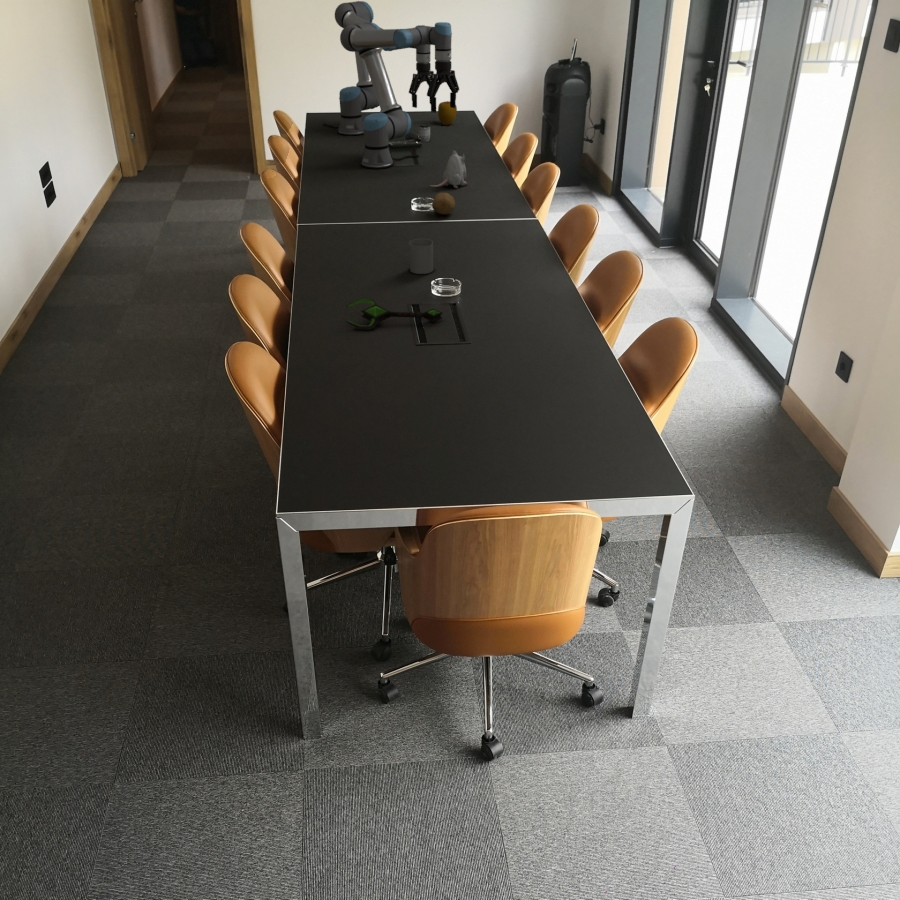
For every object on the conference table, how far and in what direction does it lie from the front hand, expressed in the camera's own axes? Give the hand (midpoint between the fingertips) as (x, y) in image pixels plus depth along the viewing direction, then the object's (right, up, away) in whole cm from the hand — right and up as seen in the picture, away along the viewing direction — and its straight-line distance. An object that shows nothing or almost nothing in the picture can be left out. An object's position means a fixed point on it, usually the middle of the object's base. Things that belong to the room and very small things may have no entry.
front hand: (443, 109), depth 405 cm
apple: (+2, +30, +98) cm, 103 cm away
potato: (0, -60, -42) cm, 73 cm away
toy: (+2, -40, -11) cm, 41 cm away
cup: (-7, -95, -97) cm, 136 cm away
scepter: (-14, -119, -134) cm, 180 cm away
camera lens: (-11, +9, +66) cm, 68 cm away
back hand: (-11, +25, +57) cm, 63 cm away
